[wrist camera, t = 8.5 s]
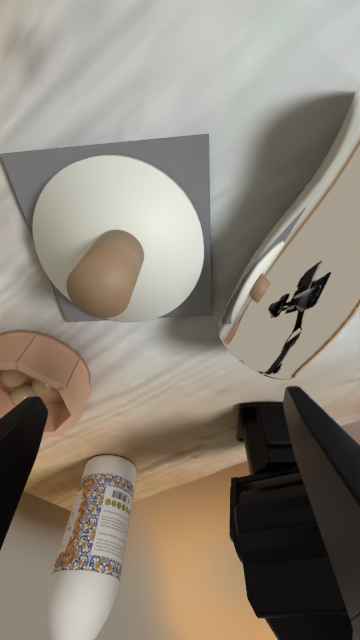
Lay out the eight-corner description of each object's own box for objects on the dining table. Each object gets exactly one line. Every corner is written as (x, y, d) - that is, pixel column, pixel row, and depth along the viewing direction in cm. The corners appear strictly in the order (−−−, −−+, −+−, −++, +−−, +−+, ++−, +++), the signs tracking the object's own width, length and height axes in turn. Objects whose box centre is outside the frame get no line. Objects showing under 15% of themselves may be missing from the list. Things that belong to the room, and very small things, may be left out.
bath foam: (94, 447, 35) (11, 727, 19) (144, 461, 37) (107, 729, 20) (81, 470, 39) (2, 720, 22) (127, 482, 40) (84, 722, 24)
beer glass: (348, 86, 15) (226, 303, 23) (376, 23, 9) (201, 343, 17) (475, 136, 14) (302, 345, 22) (598, 101, 8) (303, 402, 16)
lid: (205, 310, 22) (209, 366, 17) (70, 316, 22) (35, 372, 17) (200, 145, 15) (205, 156, 10) (12, 162, 16) (-70, 180, 11)
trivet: (211, 311, 22) (211, 315, 22) (68, 318, 23) (66, 322, 23) (208, 133, 15) (208, 134, 15) (4, 153, 16) (-1, 153, 16)
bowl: (101, 401, 29) (89, 435, 26) (12, 403, 30) (-9, 437, 27) (72, 327, 24) (53, 360, 20) (-36, 332, 24) (-71, 364, 21)
